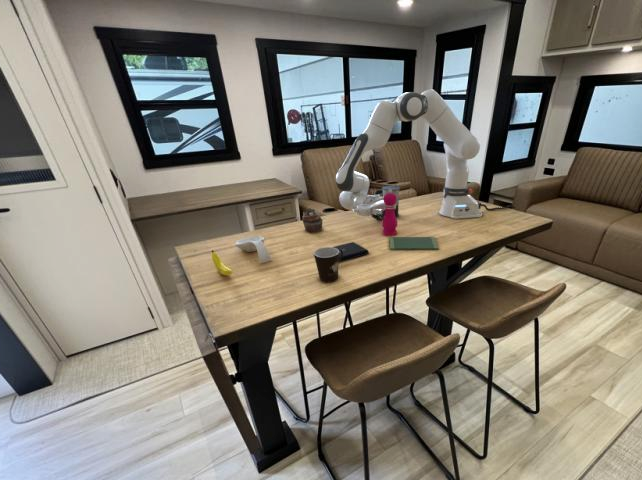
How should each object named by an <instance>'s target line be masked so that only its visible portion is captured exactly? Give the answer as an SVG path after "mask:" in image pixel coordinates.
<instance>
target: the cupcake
mask: <svg viewBox="0 0 642 480" xmlns="http://www.w3.org/2000/svg"><path fill="white" fill-rule="evenodd" d="M302 213H303V214H302V219H301V221H302V223H303V226H304V229H305V232H306V233H309V234H312V233H313V234H315V233H319V232H321V231H322V230H323V222H324V219H323V218H322V216H321V214H320V213H318V212H317V210H315V209H311V208H308V210H304V211H303V212H302Z"/></svg>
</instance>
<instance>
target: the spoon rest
mask: <svg viewBox="0 0 642 480" xmlns="http://www.w3.org/2000/svg"><path fill="white" fill-rule="evenodd" d="M264 242H265V237H263V236H248V237H245V238H241V239H238V240H237V241H235V246H236V247H237V248H239V249H241V250H242V251H244V252H247V253H252V252H253V253H254V252H256V251H257V255H258V256H257V257H258V263H259V264H264V263H269V262H271V261H272V257H271V255H270V253H269V251H268V250H267V247H266V246H265V244H264Z"/></svg>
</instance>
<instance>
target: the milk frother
mask: <svg viewBox="0 0 642 480" xmlns="http://www.w3.org/2000/svg"><path fill="white" fill-rule="evenodd" d="M400 189H401V187H400V186H397V185H385V186H382V187H381V188H379V189H377V190H375V193H374V195H380V196H381V197H384V196H385V194H387V193H388V191H389V190H392V193H393V194H395V195H396V197H397V201H396V203H395V205H396V209H394V213H395V217H396V218H398V217H399V215H400V214H399V203H400ZM381 194H382V195H381ZM370 216H371V218H372V219H374V220H376V221H383V218H384V216H385V210H384V211H383V214H373V215H370Z"/></svg>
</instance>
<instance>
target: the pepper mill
mask: <svg viewBox="0 0 642 480" xmlns="http://www.w3.org/2000/svg"><path fill="white" fill-rule="evenodd" d="M383 201H384V203H385V216H384V218H383V220H381V227H382V235H384V236H390V237H391V236H395V235H396V234H397V229H396V228H397V227H398V219H397V217H395V213H394V209H395V203H396V201H397V197H396V195H395V194H393V193H392V190H389V191H388V193H387V194H385V196H384V198H383Z"/></svg>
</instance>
